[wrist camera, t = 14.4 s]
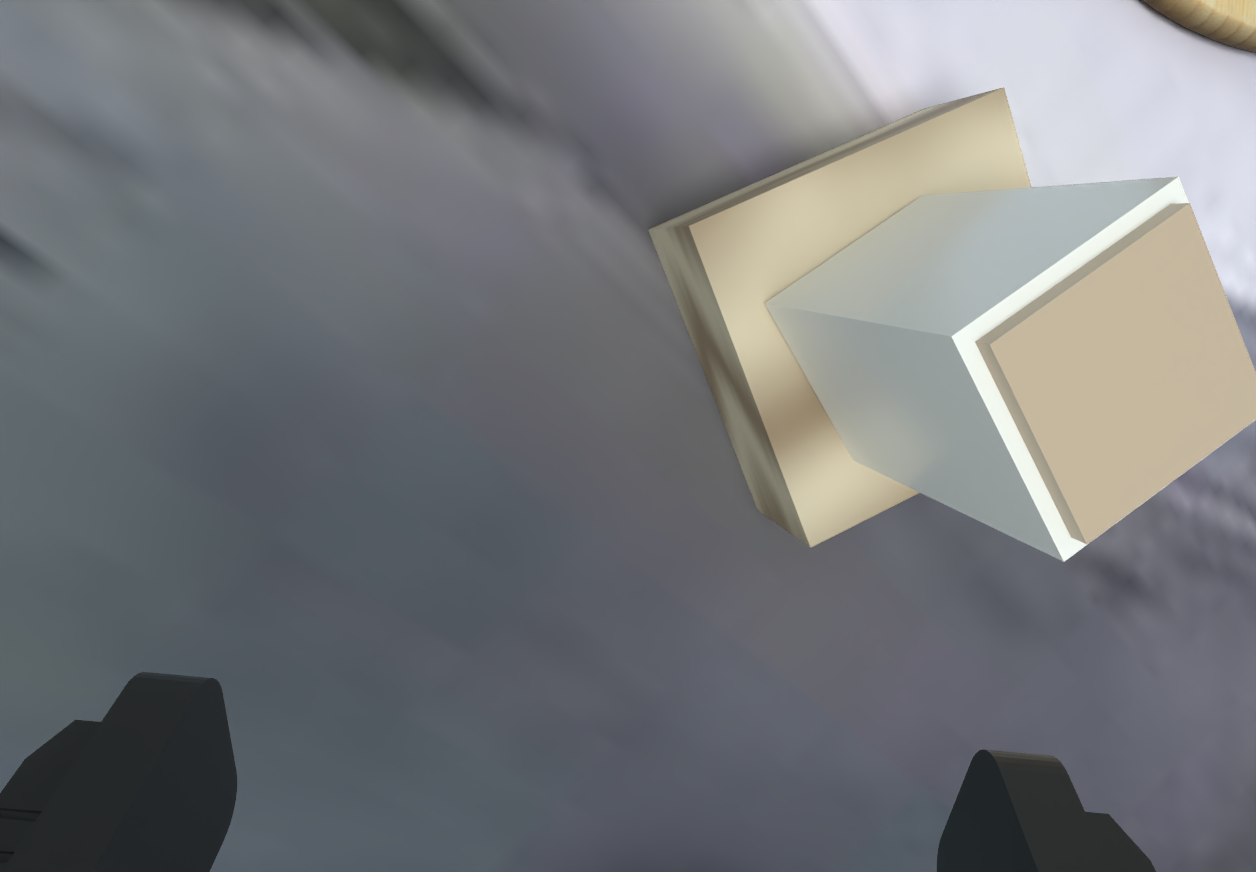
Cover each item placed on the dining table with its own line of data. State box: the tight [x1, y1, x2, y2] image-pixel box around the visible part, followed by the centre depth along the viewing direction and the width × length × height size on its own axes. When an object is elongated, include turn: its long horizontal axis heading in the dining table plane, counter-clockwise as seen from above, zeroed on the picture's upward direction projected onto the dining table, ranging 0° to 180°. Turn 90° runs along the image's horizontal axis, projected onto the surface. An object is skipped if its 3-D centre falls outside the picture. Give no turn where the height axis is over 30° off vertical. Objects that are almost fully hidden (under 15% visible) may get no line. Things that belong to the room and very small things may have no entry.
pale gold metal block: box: [648, 88, 1032, 548], centre depth 33 cm, size 11×11×5 cm
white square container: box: [765, 177, 1256, 562], centre depth 25 cm, size 6×6×10 cm
